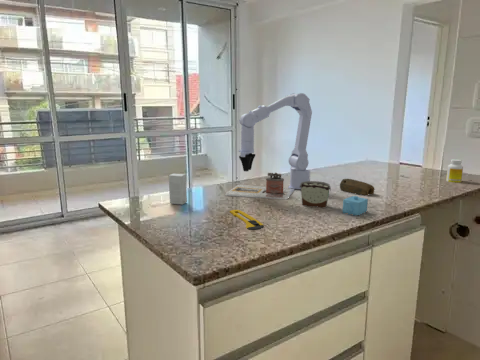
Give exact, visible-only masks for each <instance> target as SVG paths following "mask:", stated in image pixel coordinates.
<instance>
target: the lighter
mask: <svg viewBox="0 0 480 360" xmlns="http://www.w3.org/2000/svg"><path fill="white" fill-rule="evenodd" d="M267 176H268V177H266V178H265V183H266V184H265V187H266V191H265V193H268V194H281V195H285V194H284V193H285V192H283V188H284V181H285V178H284V177H283V178H282V173H278V172H274V173H273V172H267Z"/></svg>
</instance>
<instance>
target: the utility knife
mask: <svg viewBox="0 0 480 360" xmlns="http://www.w3.org/2000/svg"><path fill="white" fill-rule="evenodd" d="M229 214H232V216H233V217H236V218H237V219H239V220H240V221H242V222H244V224H245V229H246V228H247V230H250V231H258V230H262V229H263V228H265V225H264V224H263V222H260V221H259V220H257V219H256V218H254V217H253V216H251V215H250V214H248V213H246V212H245V211H242V210H240V209H231V210H229ZM261 228H262V229H261Z"/></svg>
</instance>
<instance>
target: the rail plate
mask: <svg viewBox="0 0 480 360" xmlns="http://www.w3.org/2000/svg"><path fill="white" fill-rule="evenodd" d="M295 190H296V189H290V188H288V187H285V188H284V187H283V193H286V194H268V193H266V186H259V185H248V184H246V185H245V184H237V185H235V186H234V187H233V188H231V189H230V190H228V191H226V192H225V194H224V196H227V197H239V198H255V199H275V200H289V198H290V197H291V195H292V194H293V193H294V191H295Z"/></svg>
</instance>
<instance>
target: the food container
mask: <svg viewBox="0 0 480 360" xmlns="http://www.w3.org/2000/svg"><path fill="white" fill-rule="evenodd" d="M300 187H301V189H300V192H301V193H300V195H301V206H302V205H307V206H306V207H313V206H318V207H317V208H323V207H326V208H327V206H328V201H329V195H330V194H329V193H330V192H331V191H332V189H331V187H332V186H331V184H330V183H328V182H324V181H318V180H317V181H315V180H310V181H306V182H302V183H301V184H300ZM300 187H299V188H300Z"/></svg>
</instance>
